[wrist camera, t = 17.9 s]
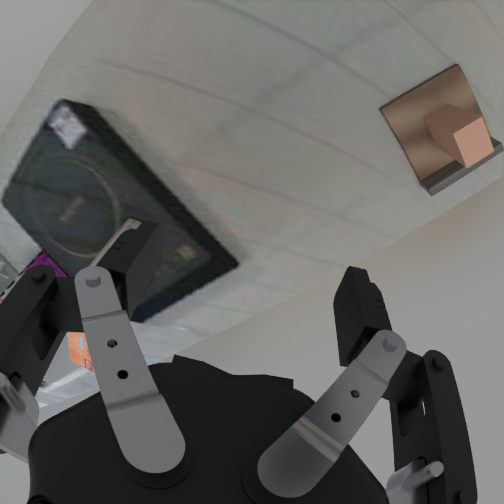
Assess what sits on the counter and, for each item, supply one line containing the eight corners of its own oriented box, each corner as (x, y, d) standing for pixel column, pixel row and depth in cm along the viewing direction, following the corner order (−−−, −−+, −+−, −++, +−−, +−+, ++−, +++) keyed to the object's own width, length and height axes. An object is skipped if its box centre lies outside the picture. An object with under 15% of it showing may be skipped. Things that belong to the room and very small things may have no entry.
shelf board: (379, 108, 36) (387, 113, 33) (455, 64, 31) (469, 65, 27) (422, 186, 41) (432, 197, 38) (490, 143, 36) (504, 151, 32)
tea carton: (422, 118, 35) (452, 133, 28) (447, 103, 33) (481, 116, 26) (437, 147, 37) (467, 169, 29) (461, 133, 35) (494, 152, 28)
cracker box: (148, 288, 57) (103, 378, 40) (119, 276, 57) (68, 361, 39) (162, 227, 50) (104, 320, 32) (129, 214, 49) (60, 299, 32)
